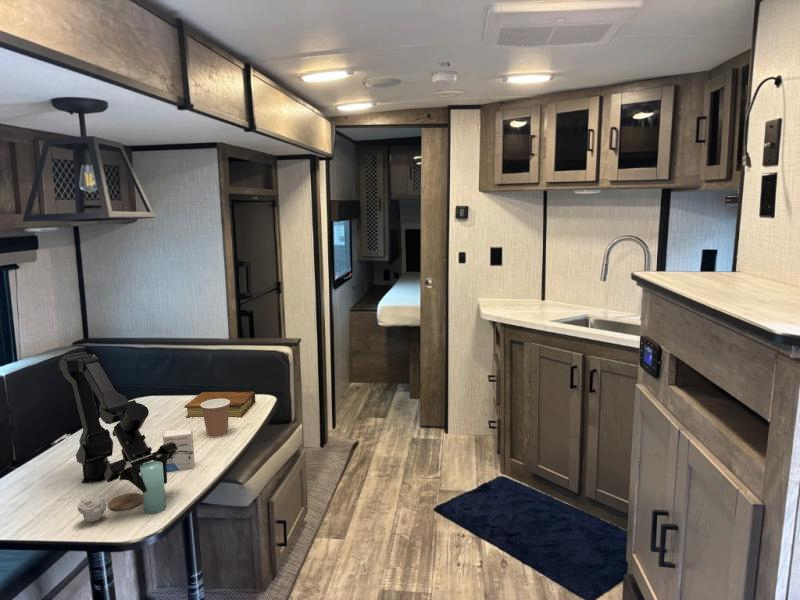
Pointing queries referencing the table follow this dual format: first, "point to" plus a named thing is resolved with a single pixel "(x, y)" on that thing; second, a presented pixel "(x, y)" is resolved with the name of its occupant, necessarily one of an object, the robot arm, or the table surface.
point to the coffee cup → (216, 416)
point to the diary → (238, 400)
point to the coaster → (125, 502)
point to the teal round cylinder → (153, 487)
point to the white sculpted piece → (92, 508)
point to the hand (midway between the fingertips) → (155, 487)
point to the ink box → (180, 449)
